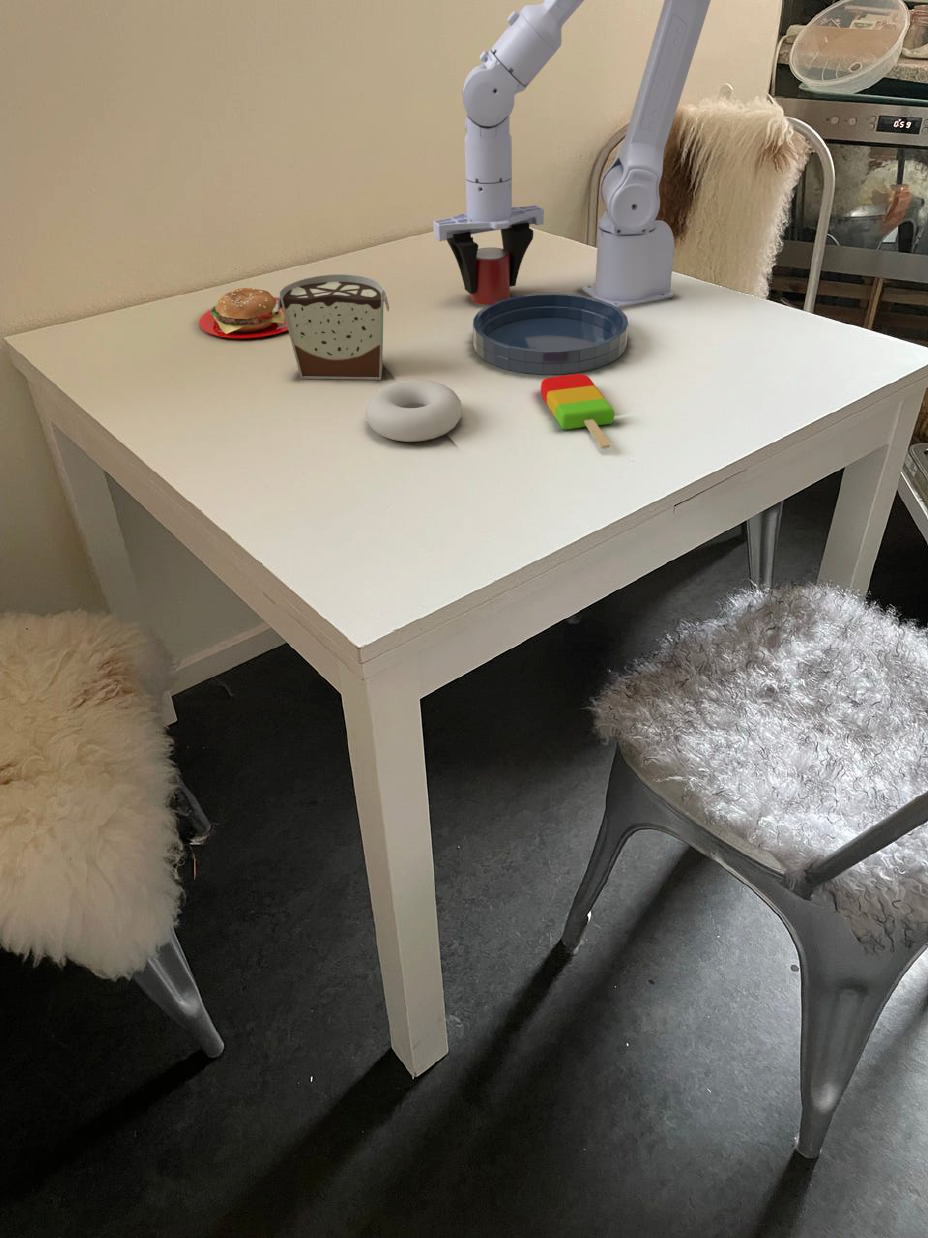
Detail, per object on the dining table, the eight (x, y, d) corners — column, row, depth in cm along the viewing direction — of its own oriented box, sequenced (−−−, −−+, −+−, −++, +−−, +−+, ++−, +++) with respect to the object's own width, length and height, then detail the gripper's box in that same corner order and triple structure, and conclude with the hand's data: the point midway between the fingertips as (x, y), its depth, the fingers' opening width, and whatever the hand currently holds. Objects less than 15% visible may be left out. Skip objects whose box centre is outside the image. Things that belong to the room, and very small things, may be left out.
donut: (416, 396, 106) (346, 426, 100) (414, 366, 103) (343, 395, 98) (482, 423, 100) (412, 457, 94) (482, 392, 98) (410, 425, 92)
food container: (402, 357, 114) (396, 272, 107) (394, 379, 109) (387, 292, 103) (300, 356, 115) (288, 272, 108) (288, 378, 110) (274, 291, 104)
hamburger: (323, 326, 122) (317, 279, 118) (215, 349, 117) (205, 300, 113) (289, 292, 132) (282, 248, 128) (188, 312, 127) (178, 266, 123)
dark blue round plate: (579, 306, 124) (580, 283, 123) (655, 358, 111) (658, 333, 109) (450, 332, 119) (449, 308, 117) (514, 389, 106) (514, 363, 104)
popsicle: (586, 387, 106) (586, 370, 105) (632, 451, 94) (633, 434, 93) (537, 393, 105) (537, 376, 104) (578, 459, 93) (579, 441, 92)
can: (499, 290, 130) (499, 244, 126) (516, 302, 126) (516, 255, 123) (464, 296, 129) (463, 250, 125) (480, 309, 125) (479, 262, 121)
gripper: (446, 193, 113) (451, 306, 121) (556, 176, 117) (552, 287, 126) (424, 179, 118) (430, 289, 127) (530, 164, 122) (528, 271, 131)
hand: (489, 287), depth 127 cm, fingers closed on can, 5 cm apart
